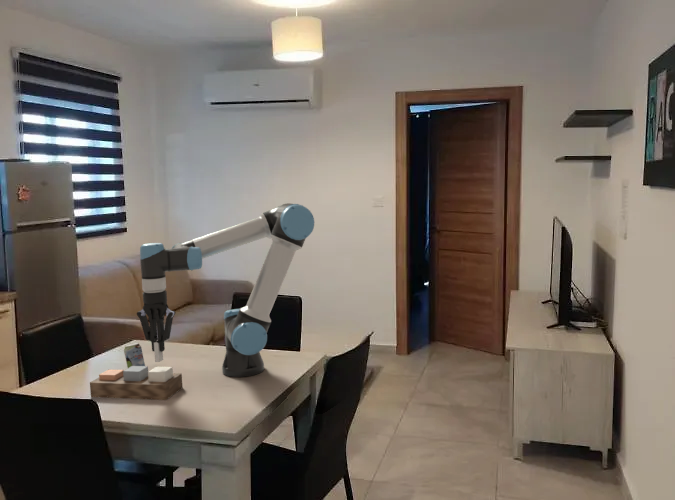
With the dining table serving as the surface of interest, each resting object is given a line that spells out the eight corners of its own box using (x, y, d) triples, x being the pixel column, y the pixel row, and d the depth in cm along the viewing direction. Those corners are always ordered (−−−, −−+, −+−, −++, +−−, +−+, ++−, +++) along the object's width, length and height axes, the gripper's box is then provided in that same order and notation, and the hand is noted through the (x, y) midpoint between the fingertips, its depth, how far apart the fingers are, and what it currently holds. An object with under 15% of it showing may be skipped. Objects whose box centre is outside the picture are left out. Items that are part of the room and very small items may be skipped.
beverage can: (141, 378, 228) (138, 346, 227) (122, 378, 230) (119, 345, 228) (149, 373, 234) (147, 341, 233) (131, 372, 236) (129, 341, 235)
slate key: (148, 377, 215) (147, 366, 215) (140, 383, 210) (139, 371, 209) (133, 377, 217) (132, 365, 216) (124, 382, 211) (123, 371, 210)
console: (182, 387, 217) (181, 373, 216) (166, 400, 205) (165, 385, 204) (111, 385, 222) (109, 371, 222) (91, 397, 211) (89, 382, 210)
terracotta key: (124, 381, 217) (124, 369, 217) (115, 386, 212) (114, 375, 211) (109, 380, 219) (108, 369, 218) (99, 386, 213) (99, 374, 212)
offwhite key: (173, 378, 213) (172, 366, 213) (165, 384, 208) (164, 372, 207) (157, 378, 215) (156, 366, 214) (148, 383, 209) (147, 371, 209)
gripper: (178, 288, 210) (182, 358, 213) (142, 288, 213) (146, 357, 215) (167, 292, 203) (172, 364, 205) (130, 292, 205) (135, 363, 208)
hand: (159, 360), depth 210 cm, fingers closed
